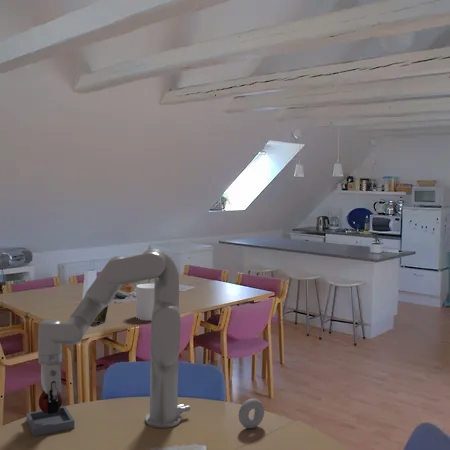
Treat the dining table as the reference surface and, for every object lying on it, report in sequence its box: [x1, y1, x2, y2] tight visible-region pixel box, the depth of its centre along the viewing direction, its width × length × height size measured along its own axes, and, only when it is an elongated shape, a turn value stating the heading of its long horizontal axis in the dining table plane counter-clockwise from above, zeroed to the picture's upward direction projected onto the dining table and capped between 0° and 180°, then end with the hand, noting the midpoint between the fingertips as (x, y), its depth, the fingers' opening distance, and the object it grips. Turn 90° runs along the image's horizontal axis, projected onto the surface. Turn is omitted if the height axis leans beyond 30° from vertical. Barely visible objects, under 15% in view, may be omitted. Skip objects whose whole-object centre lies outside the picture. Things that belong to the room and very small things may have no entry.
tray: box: [26, 405, 75, 438], centre depth 173 cm, size 13×13×3 cm
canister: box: [135, 283, 155, 321], centre depth 321 cm, size 16×16×20 cm
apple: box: [38, 390, 63, 414], centre depth 172 cm, size 7×8×8 cm
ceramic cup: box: [93, 305, 109, 323], centre depth 306 cm, size 13×10×10 cm
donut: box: [238, 397, 266, 429], centre depth 173 cm, size 10×4×10 cm, turn 122°
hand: (49, 407), depth 172 cm, fingers closed on apple, 7 cm apart
